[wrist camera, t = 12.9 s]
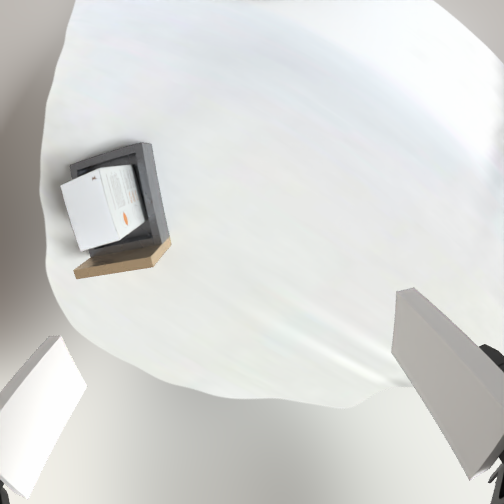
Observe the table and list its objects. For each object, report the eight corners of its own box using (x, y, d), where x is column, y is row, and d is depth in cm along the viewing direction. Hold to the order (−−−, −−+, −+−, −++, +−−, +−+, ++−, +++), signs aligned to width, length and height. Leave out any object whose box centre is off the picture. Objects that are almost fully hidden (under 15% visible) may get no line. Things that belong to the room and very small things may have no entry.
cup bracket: (151, 143, 36) (126, 140, 28) (171, 244, 41) (153, 267, 32) (83, 163, 37) (48, 167, 28) (104, 256, 41) (76, 279, 32)
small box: (99, 176, 36) (58, 183, 26) (134, 163, 36) (98, 166, 26) (115, 230, 39) (79, 253, 29) (149, 220, 38) (119, 241, 28)
